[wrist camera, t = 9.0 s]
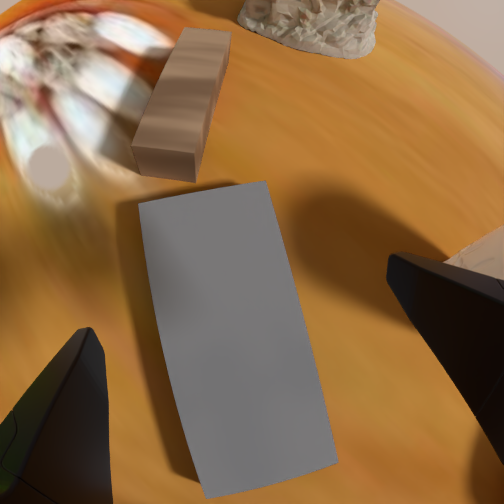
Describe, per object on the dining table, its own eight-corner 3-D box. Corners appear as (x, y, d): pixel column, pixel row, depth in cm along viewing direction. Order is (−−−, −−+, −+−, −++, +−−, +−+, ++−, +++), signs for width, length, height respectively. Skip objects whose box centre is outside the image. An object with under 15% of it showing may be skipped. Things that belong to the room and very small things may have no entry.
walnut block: (194, 153, 18) (231, 31, 22) (130, 145, 18) (184, 27, 22) (196, 184, 22) (228, 64, 26) (141, 177, 22) (185, 60, 26)
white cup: (398, 290, 21) (499, 249, 12) (453, 237, 23) (538, 187, 14) (446, 372, 20) (549, 369, 11) (494, 311, 22) (582, 286, 13)
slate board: (327, 453, 18) (338, 462, 16) (206, 485, 16) (206, 498, 14) (260, 194, 22) (265, 180, 20) (143, 216, 21) (138, 203, 19)
